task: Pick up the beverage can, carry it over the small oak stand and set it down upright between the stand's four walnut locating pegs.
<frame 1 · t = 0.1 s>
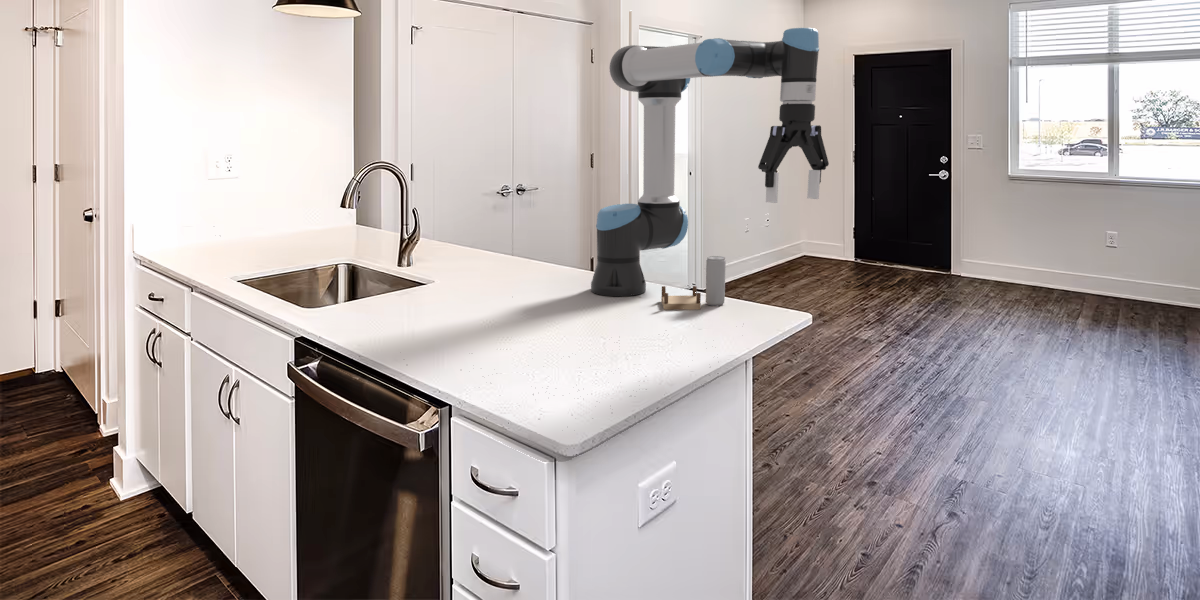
hand: (792, 200, 172), 28 cm above the worktop, fingers open, 13 cm apart
beverage can: (714, 304, 195), on the worktop
stand: (680, 305, 194), on the worktop
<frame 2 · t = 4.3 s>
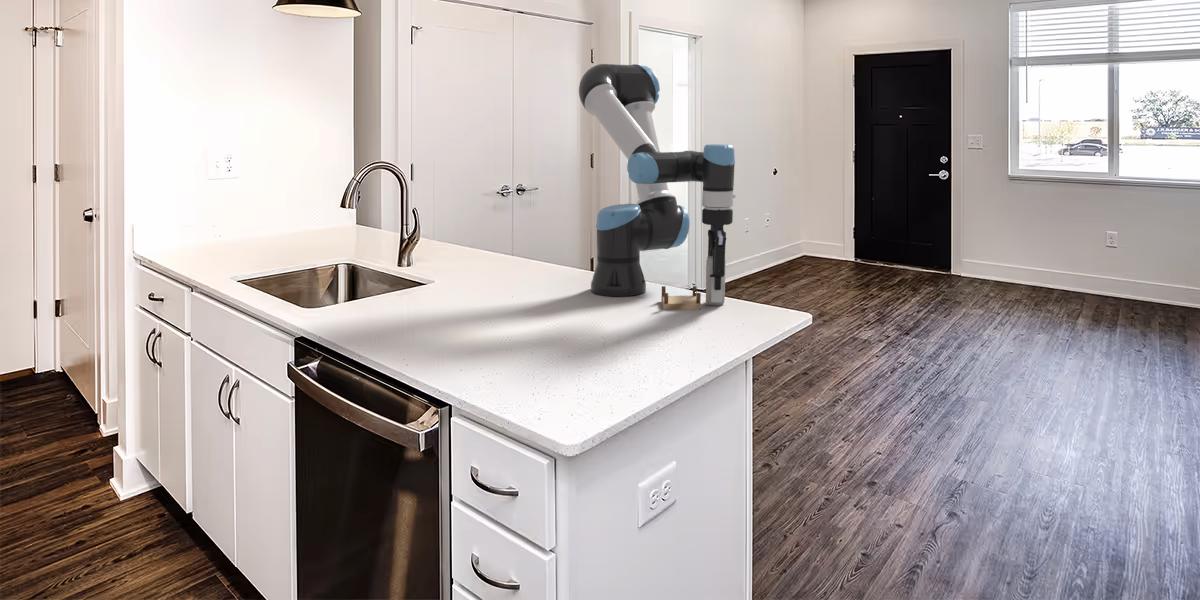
hand: (714, 299, 194), 1 cm above the worktop, fingers closed on beverage can, 5 cm apart
beverage can: (714, 304, 195), on the worktop, touching gripper
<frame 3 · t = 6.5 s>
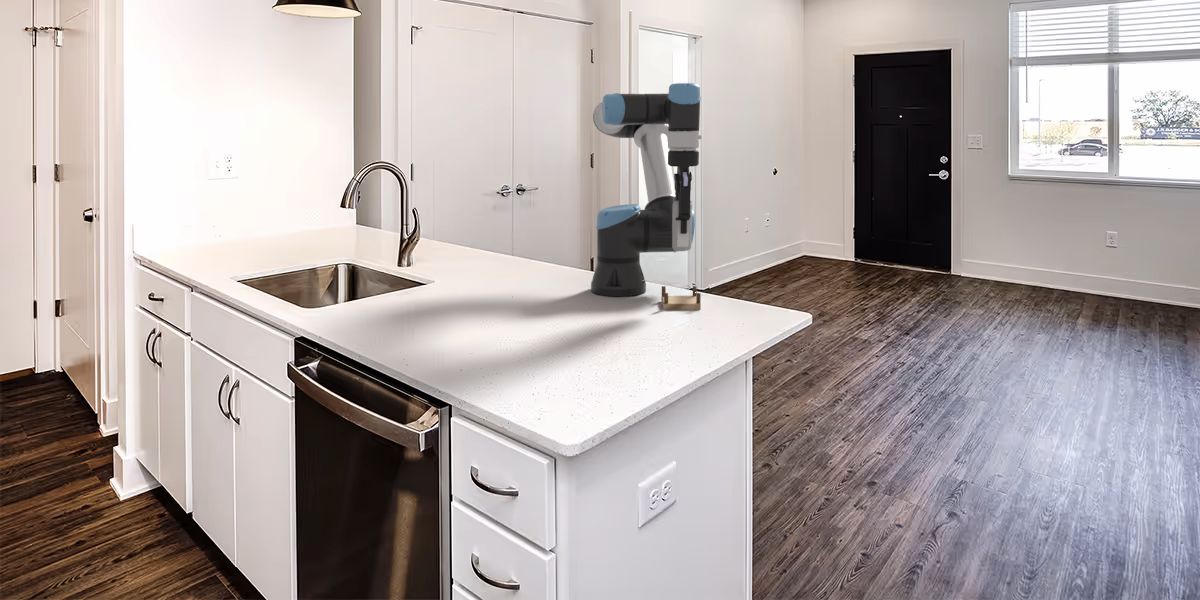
hand: (681, 244, 190), 16 cm above the worktop, fingers closed on beverage can, 5 cm apart
beverage can: (681, 250, 190), point 14 cm above the worktop, touching gripper
when the fingers open (4 cm above the worktop, at t = 9.2 s): beverage can stays where it is, resting on stand.
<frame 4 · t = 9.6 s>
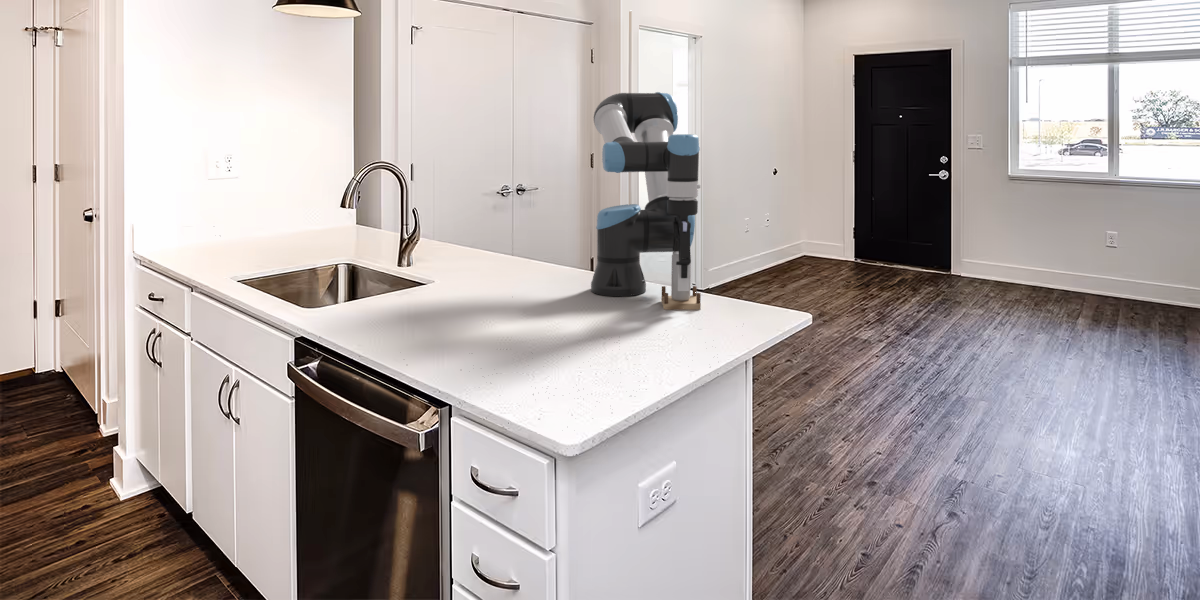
hand: (680, 285, 192), 5 cm above the worktop, fingers open, 11 cm apart
beverage can: (680, 300, 193), point 1 cm above the worktop, touching stand
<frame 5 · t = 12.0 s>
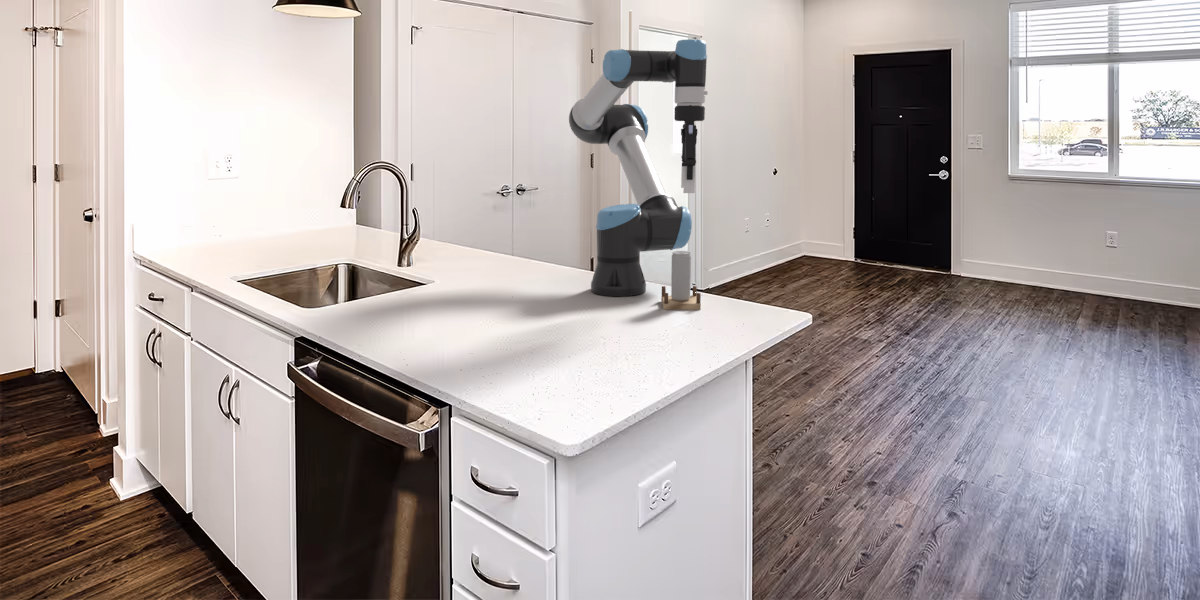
hand: (687, 190, 196), 28 cm above the worktop, fingers open, 13 cm apart
nothing on the worktop moved.
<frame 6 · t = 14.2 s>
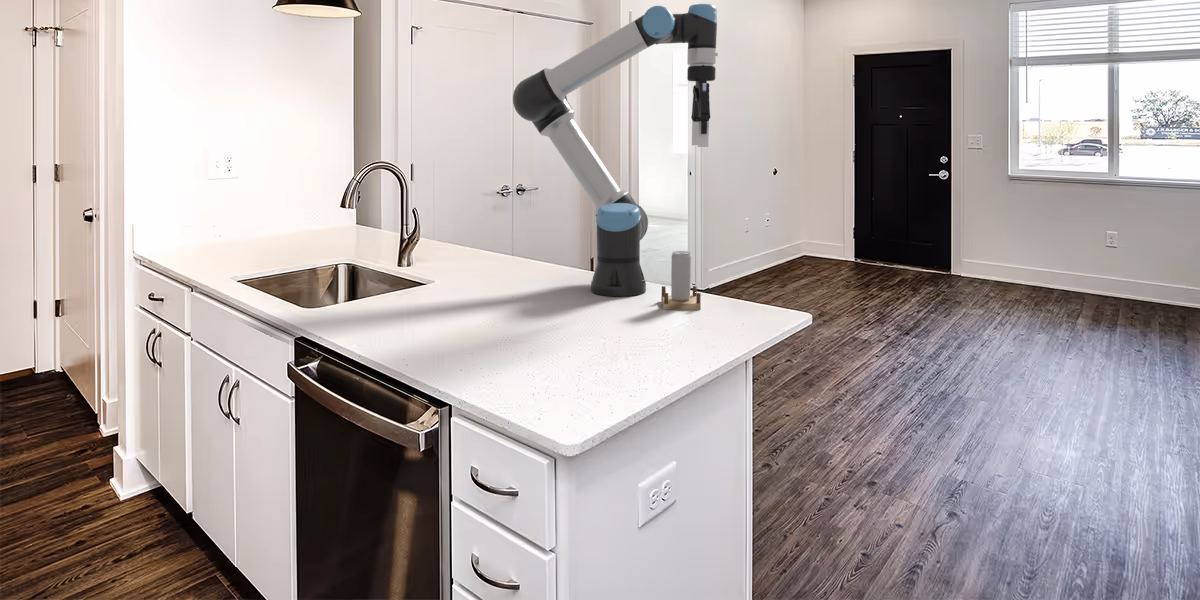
hand: (699, 146, 211), 39 cm above the worktop, fingers open, 13 cm apart
nothing on the worktop moved.
at the end: beverage can 0.1 cm off-centre on the stand, point 1.3 cm above the stand's base; beverage can tilted 0°; the gripper is holding nothing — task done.
